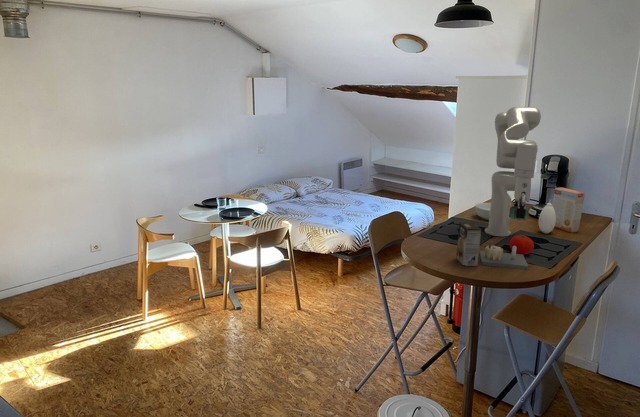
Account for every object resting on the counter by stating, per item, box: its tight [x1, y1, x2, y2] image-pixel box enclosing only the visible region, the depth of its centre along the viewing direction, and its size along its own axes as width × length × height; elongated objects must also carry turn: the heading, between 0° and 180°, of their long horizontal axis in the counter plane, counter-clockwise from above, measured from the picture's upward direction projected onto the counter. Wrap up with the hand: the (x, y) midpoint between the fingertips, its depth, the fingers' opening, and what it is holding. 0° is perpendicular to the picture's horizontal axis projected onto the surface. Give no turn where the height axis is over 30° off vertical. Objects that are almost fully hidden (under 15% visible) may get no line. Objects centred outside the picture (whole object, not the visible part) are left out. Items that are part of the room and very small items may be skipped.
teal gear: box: [509, 205, 529, 221], centre depth 206 cm, size 7×7×4 cm
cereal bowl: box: [474, 202, 491, 221], centre depth 277 cm, size 17×17×7 cm
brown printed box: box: [455, 222, 482, 267], centre depth 209 cm, size 9×6×16 cm
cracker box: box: [552, 186, 585, 233], centre depth 259 cm, size 14×6×21 cm, turn 22°
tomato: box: [509, 234, 535, 256], centre depth 222 cm, size 9×10×8 cm
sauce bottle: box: [538, 198, 556, 234], centre depth 252 cm, size 8×8×18 cm
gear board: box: [479, 243, 529, 270], centre depth 212 cm, size 14×18×7 cm
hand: (518, 215), depth 206 cm, fingers closed on teal gear, 7 cm apart
